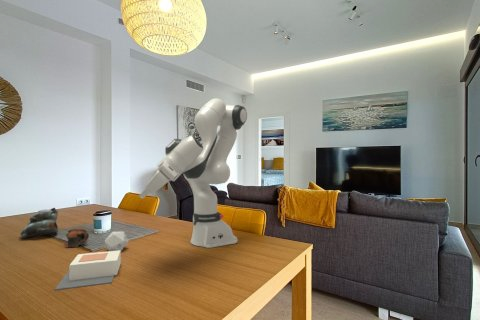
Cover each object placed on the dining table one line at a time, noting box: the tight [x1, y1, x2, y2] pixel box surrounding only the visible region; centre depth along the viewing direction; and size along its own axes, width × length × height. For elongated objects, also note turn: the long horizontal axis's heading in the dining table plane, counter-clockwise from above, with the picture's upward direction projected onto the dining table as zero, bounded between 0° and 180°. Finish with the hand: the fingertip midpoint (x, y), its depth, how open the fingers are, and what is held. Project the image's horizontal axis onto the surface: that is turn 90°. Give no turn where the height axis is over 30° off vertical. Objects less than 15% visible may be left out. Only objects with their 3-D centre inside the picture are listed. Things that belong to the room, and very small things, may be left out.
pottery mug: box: [64, 228, 90, 248], centre depth 120 cm, size 12×10×8 cm
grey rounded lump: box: [19, 207, 59, 240], centre depth 133 cm, size 17×14×16 cm
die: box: [104, 231, 129, 252], centre depth 113 cm, size 8×9×10 cm
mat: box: [54, 270, 115, 291], centre depth 90 cm, size 16×20×1 cm
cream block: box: [68, 250, 122, 281], centre depth 91 cm, size 5×10×14 cm
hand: (140, 197), depth 96 cm, fingers closed
